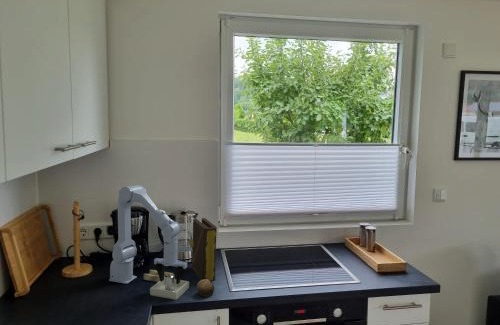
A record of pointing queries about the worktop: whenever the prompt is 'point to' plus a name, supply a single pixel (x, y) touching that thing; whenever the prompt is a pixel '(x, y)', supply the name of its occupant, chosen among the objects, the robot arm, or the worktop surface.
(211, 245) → the book
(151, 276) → the trough
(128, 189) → the robot arm
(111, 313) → the worktop surface
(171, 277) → the cylinder
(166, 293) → the dish
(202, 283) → the mushroom
